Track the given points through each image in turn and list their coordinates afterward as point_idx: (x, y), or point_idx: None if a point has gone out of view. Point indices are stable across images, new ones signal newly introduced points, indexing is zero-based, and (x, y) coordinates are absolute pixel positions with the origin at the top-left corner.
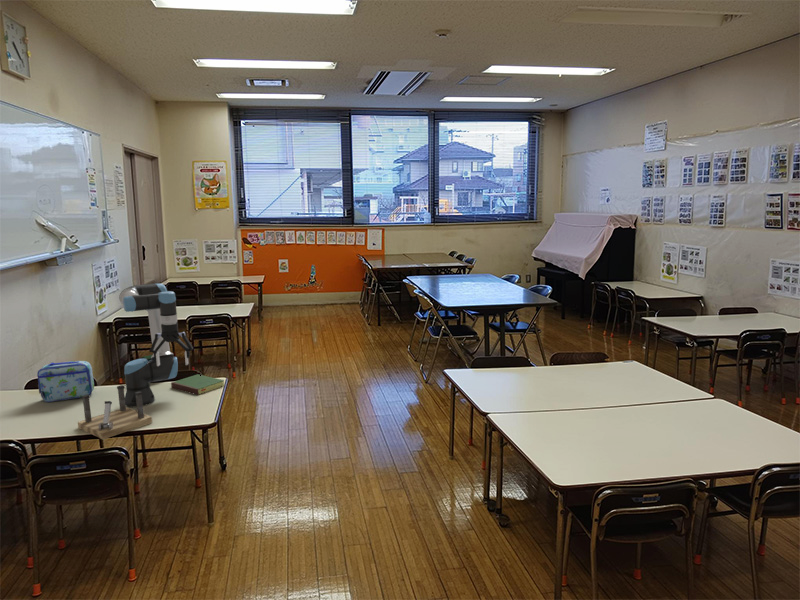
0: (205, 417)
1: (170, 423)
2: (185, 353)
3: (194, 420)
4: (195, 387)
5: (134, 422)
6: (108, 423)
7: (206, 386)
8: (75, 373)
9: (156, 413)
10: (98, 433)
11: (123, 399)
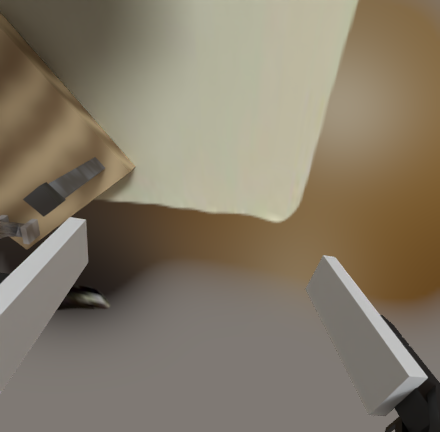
0: (284, 179)
1: (190, 191)
2: (367, 398)
3: (253, 192)
4: None
5: (88, 201)
6: (16, 228)
7: None
8: None
9: (128, 75)
10: None
11: None
